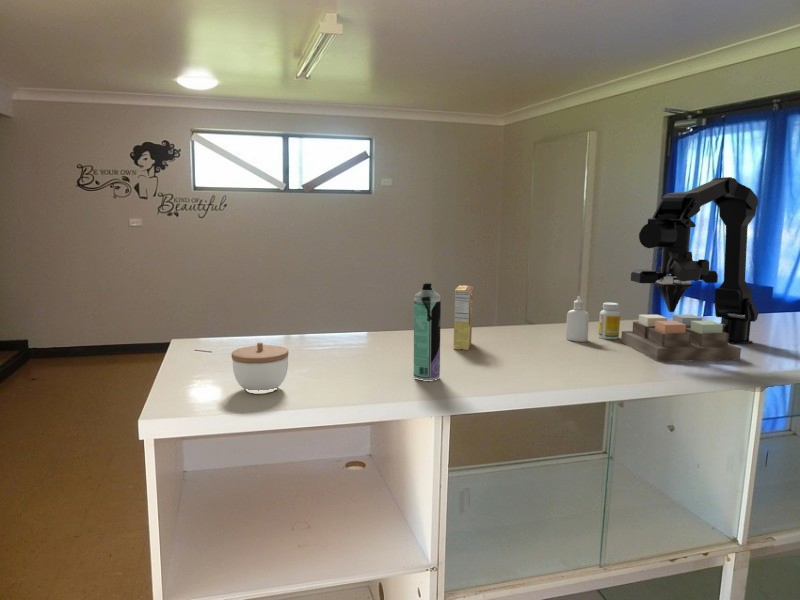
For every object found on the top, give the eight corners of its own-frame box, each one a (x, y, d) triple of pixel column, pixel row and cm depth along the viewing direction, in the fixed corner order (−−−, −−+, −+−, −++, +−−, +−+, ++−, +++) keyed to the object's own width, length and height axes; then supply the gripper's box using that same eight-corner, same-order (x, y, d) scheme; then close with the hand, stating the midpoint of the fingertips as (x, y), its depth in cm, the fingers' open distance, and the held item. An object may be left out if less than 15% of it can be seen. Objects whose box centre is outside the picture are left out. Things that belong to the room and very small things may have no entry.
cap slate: (690, 325, 154) (691, 314, 154) (701, 329, 149) (702, 317, 149) (672, 325, 154) (672, 314, 154) (681, 329, 149) (682, 317, 149)
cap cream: (657, 325, 154) (657, 314, 153) (666, 329, 149) (667, 317, 149) (638, 325, 154) (639, 314, 153) (647, 329, 149) (647, 318, 148)
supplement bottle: (594, 337, 164) (596, 303, 162) (605, 334, 167) (607, 301, 165) (612, 340, 159) (614, 305, 158) (622, 337, 163) (624, 303, 161)
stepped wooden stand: (694, 341, 158) (695, 319, 157) (739, 360, 138) (742, 335, 137) (621, 342, 157) (622, 320, 156) (656, 361, 138) (658, 335, 137)
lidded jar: (268, 401, 108) (266, 351, 107) (221, 394, 112) (219, 346, 111) (299, 385, 118) (298, 339, 116) (255, 379, 122) (254, 335, 121)
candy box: (456, 342, 157) (457, 285, 155) (472, 342, 156) (473, 285, 154) (453, 349, 149) (454, 289, 146) (469, 350, 148) (471, 290, 145)
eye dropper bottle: (576, 337, 163) (578, 294, 161) (590, 341, 158) (592, 297, 156) (563, 338, 161) (565, 295, 160) (577, 342, 156) (579, 298, 155)
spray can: (443, 380, 121) (444, 284, 118) (418, 382, 120) (419, 285, 117) (434, 373, 127) (435, 281, 124) (410, 375, 125) (410, 282, 122)
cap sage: (709, 332, 145) (711, 320, 145) (721, 336, 140) (722, 324, 140) (690, 332, 145) (691, 320, 145) (701, 337, 140) (702, 324, 140)
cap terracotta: (674, 332, 145) (675, 320, 145) (684, 337, 140) (685, 324, 140) (654, 333, 145) (655, 321, 144) (664, 337, 140) (665, 324, 139)
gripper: (653, 249, 131) (648, 318, 133) (734, 249, 132) (728, 317, 134) (631, 246, 142) (627, 310, 144) (707, 246, 143) (702, 309, 145)
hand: (671, 311), depth 142 cm, fingers closed
